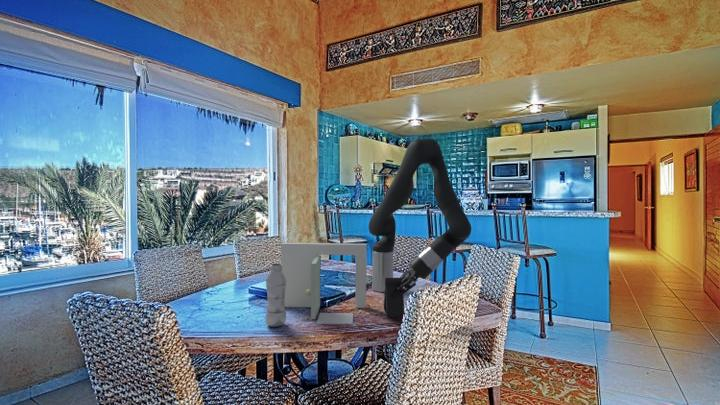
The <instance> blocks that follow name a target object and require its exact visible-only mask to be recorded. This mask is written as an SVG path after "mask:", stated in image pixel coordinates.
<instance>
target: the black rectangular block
mask: <svg viewBox="0 0 720 405" xmlns="http://www.w3.org/2000/svg"><path fill="white" fill-rule="evenodd" d="M402 280H403V278H400V277H393V278H385V292H383V293H384V296H383V310H384V313H385V315H386V317H404V316H403V314H404V315H405V301H404V300H405V299H404V294H403V293H401V294H400V295H399V296H397V297H396V298H395V299H393V298H392V297H391V296H392V293H393V291H394V290H395V289H396V288H397V287H398V286H399V285H400V284H401V281H402Z"/></svg>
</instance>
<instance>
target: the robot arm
mask: <svg viewBox="0 0 720 405" xmlns="http://www.w3.org/2000/svg"><path fill="white" fill-rule="evenodd" d="M426 164H428V165H429V167H430V169H431V171H432V174H433V180H434V181H433V182H434V183H433V195H434V198H435V200H436V203H437V204H438V208H439V209H440V211H441V214H442V215H443V216H444V218H445V221H446V224H447V226H448V229H446V231H445V232H444V233H442V235H440V236H438V237H436V238H435V239H434V240H433V241H432V242H431V243H430V244H429V245H428V246H426V247H425V248H424V249H423V250H422V251H420V252H419V253H418V254H417V256H415V257H414V258H413V259H412V260H411V261H410V262H409V266H410V267H411V269H410V270H408V269H407V270H405V271H404V272H403V273H402V274H401V276H400V277H399V278H403V280H402V281H401V284H400V285H399V286H398V287H397V288H396V289H395V290H394V291H393V293H392V296H391V297H392V298H393V299H395V298H396V297H397V296H399V295H400V294H401V293H403V295H404V294H406V293H407V292H409V291H410V290H411V289H412V288H414V287H415V286H417V282H418V279H419V278H420V277H421V279H423V280H426V279H427V278H428V276H430V275H431V274H432V273H433V272H434V271H435V270H437V268H439V266H440V265H441V264H442V263H443V262H444V261H445V260H446V259H447V258H448V256H450V255H451V254H452V253H453V251H454V250H455V249H456V248H458V247H459V246H460V245H461V244H463V243H464V242H465V241H466V240H467V239H468V238H469V237H470V236H471V233H472V224H471V222H470V221H469V219H468V217H467V215H466V213H465V211H464V209H463V208H462V205H461V203H460V200H459V197H458V196H457V194H456V192H455V190H454V187H453V185H452V183H451V180H450V177H449V174H448V171H447V170H448V169H447V166H446V162H445V160H444V156H443V152H442V150H441V147H440V144H439V142H438V141H437V140H436V139H434V138H429V137H428V138H417V139H414V140H412V141H411V142H410V143H409V144H408V146H407V148H406V151H405V153H404V156H403V158H402V161H401V163H400V165H399V168H398V170H397V172H396V174H395V176H394V178H393V179H392V181H391V183H390V185H389V187H388V189H387V190H386V193H385V195H384V197H383V199H382V200H381V202H380V204H379V205H378V207H377V208H376V209H375V211H374V213H373V214H372V216H371V217H370V219H369V221H368V232H369V234H371V235H372V236H377V237H381V239H380V240H378V241H377V242H375V243H374V244H372V267H371V268H372V271H371V273H372V274H371V275H372V276H371V279H372V280H371V284H372V285H371V289H372V291H375V292H380V293H385V278H394V249H395V248H394V247H395V244H396V231H397V229H396V228H397V223H396V220H395V219H396V218H395V217H394V215H392V214H395V212H397V211H398V210H400V209H401V208H402V207H404V206H405V205H406V204H407V203H408V201H409V200H410V198H411V196H412V195H413V192H414V190H415V185H414V184H415V183H414V175H415V174H416V173H417V172H416V171H417V170H418V169H419V167H420V166H421V165H426Z"/></svg>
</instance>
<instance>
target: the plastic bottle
mask: <svg viewBox="0 0 720 405" xmlns="http://www.w3.org/2000/svg"><path fill="white" fill-rule="evenodd" d="M269 271H270V273H269V274H268V275H267V277H266V280H265V287H266V293H267V295H266V296H267V305H266V313H265V317H264V318H265V324H266V325H267V326H269V327H272V328H273V327H276V328H277V327H282V326H284V325H285V323H286V321H287V312H286V307H285V301H284V300H285V298H284V297H285V289H286V281H287V280H286V277H285V276H284V274H283V273H282V272H281V271H282V264H281V263H271V264H270V265H269Z"/></svg>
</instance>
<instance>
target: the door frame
mask: <svg viewBox="0 0 720 405" xmlns="http://www.w3.org/2000/svg"><path fill="white" fill-rule="evenodd" d="M367 245H368V244H367V243H333V242H331V243H327V242H326V243H323V242H322V243H320V242H319V243H317V242H316V243H315V242H308V243H307V242H281V244H280V264H282V271H281V272H282V273H283V274H284V276H285V277H286V280H287V281H286V289H285V297H284V298H285V300H284V301H285V308H310V320H316V319H317V320H316V325H354V312H353V313H351V312H344V313H343V312H320V313H319V310H320V308H321V290H322V288H321V287H322V286H321V282H322V280H321V279H322V278H321V274H322V272H321V270H322V269H321V268H322V266H321V265H322V263H321V262H322V260H321V258H322V256H323V255H324V256H325V255H326V256H330V255H331V256H355V288H354V290H355V291H354V292H355V295H354V296H355V299H354V300H355V302H354V304H355V305H354V306H355V309H366V308H367V257H368V256H367V252H368V251H367V248H368V246H367ZM317 315H318V317H317Z"/></svg>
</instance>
